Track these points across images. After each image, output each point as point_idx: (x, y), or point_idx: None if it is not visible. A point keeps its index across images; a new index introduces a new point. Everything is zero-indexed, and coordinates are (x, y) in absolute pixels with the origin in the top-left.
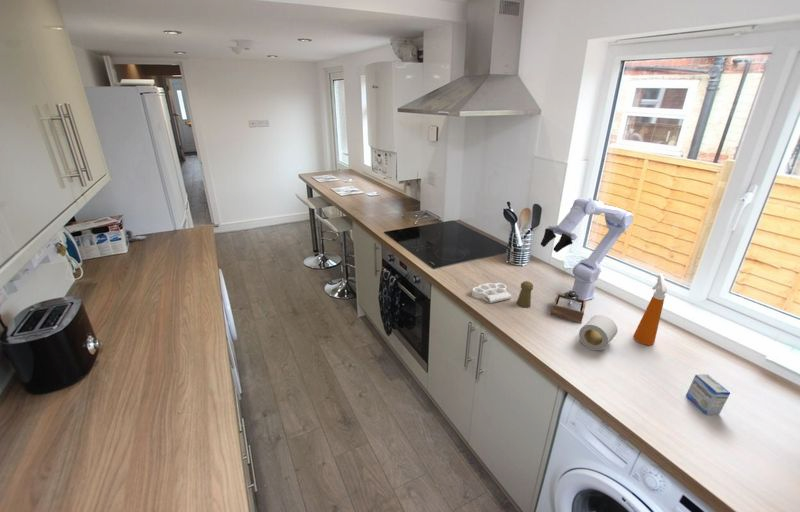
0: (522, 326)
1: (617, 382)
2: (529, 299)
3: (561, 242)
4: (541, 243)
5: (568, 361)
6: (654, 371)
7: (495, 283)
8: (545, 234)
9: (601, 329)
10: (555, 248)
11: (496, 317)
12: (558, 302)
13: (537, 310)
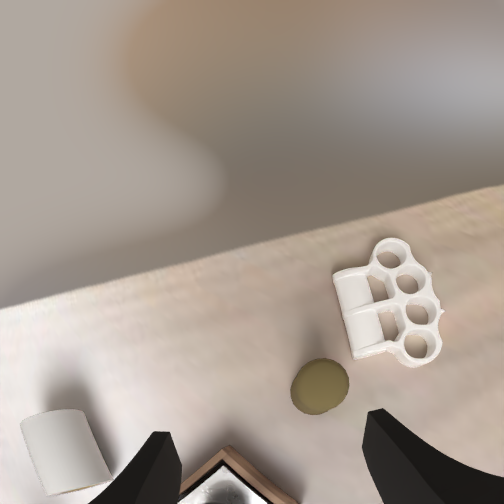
0: (194, 318)
1: (4, 379)
2: (296, 397)
3: (98, 502)
4: (376, 414)
5: (59, 338)
6: (7, 470)
7: (437, 329)
8: (454, 475)
9: (22, 421)
10: (146, 442)
11: (255, 267)
12: (244, 486)
13: (267, 418)
